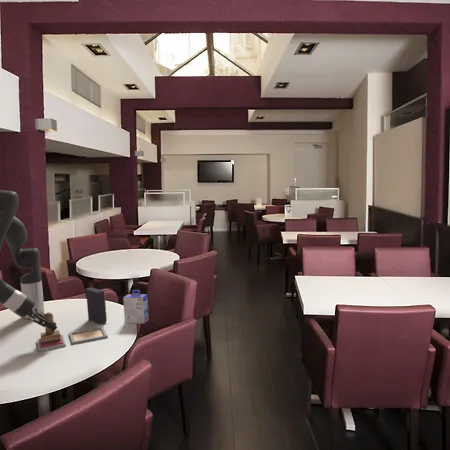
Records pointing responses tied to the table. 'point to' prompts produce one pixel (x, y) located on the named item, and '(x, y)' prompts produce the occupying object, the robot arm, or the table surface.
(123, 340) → the table surface
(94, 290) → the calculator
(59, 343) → the ink pad
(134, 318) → the ink cartridge box
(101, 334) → the grey flat frame
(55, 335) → the wooden stamp
